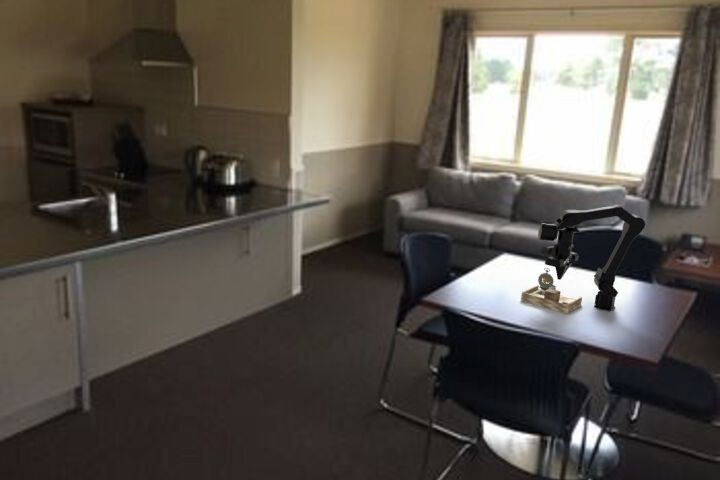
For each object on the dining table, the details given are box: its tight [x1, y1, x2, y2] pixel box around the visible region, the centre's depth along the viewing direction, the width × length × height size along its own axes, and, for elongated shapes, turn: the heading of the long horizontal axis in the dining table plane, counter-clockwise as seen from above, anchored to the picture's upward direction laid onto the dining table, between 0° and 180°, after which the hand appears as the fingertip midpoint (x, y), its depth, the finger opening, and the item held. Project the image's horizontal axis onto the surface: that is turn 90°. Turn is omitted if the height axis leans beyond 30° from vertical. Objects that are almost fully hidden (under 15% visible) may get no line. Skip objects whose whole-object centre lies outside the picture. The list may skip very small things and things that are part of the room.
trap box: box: [520, 284, 583, 314], centre depth 247 cm, size 20×14×4 cm
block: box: [544, 289, 561, 302], centre depth 242 cm, size 4×4×4 cm
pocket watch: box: [537, 267, 557, 290], centre depth 264 cm, size 8×8×10 cm
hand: (559, 279), depth 245 cm, fingers closed
